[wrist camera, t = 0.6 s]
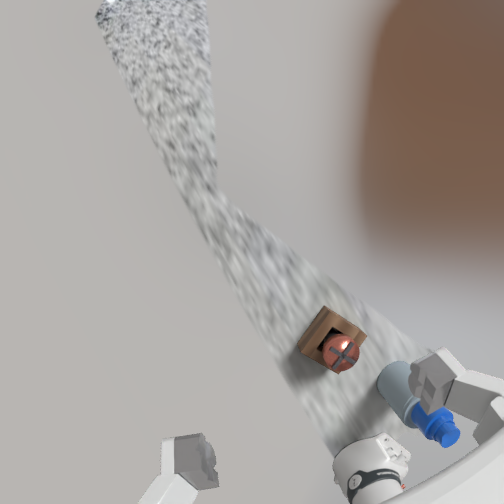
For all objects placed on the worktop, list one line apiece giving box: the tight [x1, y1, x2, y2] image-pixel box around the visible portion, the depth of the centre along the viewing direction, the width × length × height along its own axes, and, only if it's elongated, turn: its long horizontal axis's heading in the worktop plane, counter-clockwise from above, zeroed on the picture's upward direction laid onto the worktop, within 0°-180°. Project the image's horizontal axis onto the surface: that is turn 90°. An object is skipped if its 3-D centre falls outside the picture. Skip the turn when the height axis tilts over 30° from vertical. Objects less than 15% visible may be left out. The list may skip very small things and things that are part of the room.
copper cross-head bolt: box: [322, 328, 359, 371], centre depth 52 cm, size 6×6×11 cm
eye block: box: [297, 306, 367, 374], centre depth 55 cm, size 9×9×5 cm
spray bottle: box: [377, 361, 460, 448], centre depth 45 cm, size 9×9×25 cm
